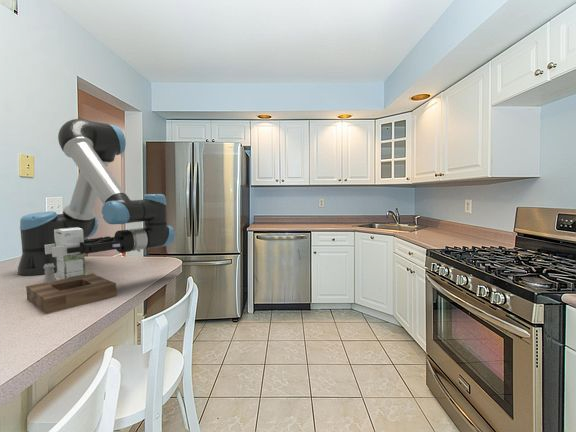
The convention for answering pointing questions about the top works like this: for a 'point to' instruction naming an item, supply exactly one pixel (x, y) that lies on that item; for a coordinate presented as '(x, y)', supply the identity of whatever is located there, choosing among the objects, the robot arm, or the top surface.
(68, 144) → the robot arm
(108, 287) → the socket block
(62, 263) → the syrup box
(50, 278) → the rook chess piece
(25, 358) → the top surface
